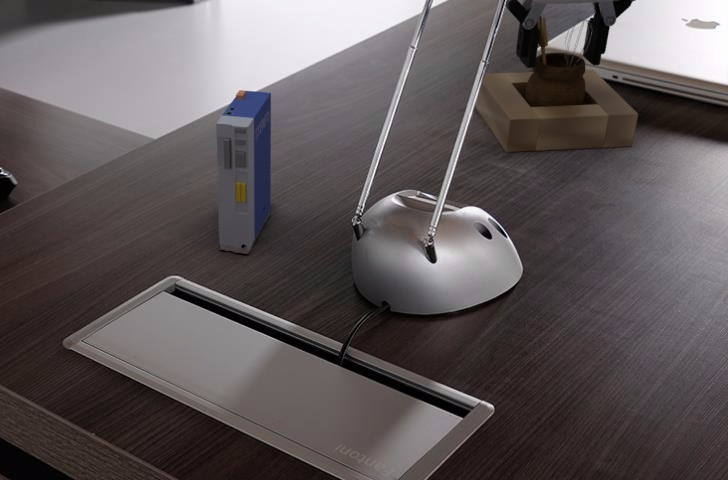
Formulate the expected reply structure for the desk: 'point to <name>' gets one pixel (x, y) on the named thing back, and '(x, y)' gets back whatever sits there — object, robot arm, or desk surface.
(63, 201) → the desk surface
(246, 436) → the desk surface
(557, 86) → the utensil holder
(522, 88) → the socket pad
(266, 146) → the blue grey plc module
